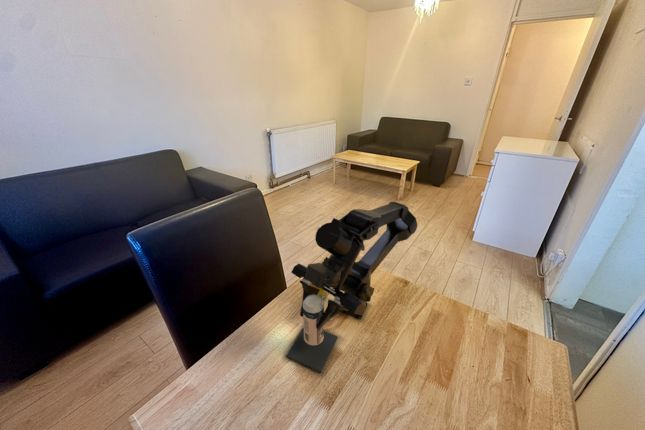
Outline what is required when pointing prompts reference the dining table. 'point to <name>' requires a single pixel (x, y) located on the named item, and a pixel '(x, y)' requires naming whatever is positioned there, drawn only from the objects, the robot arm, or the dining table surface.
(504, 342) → the dining table surface
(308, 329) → the beer can
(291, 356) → the can mat
